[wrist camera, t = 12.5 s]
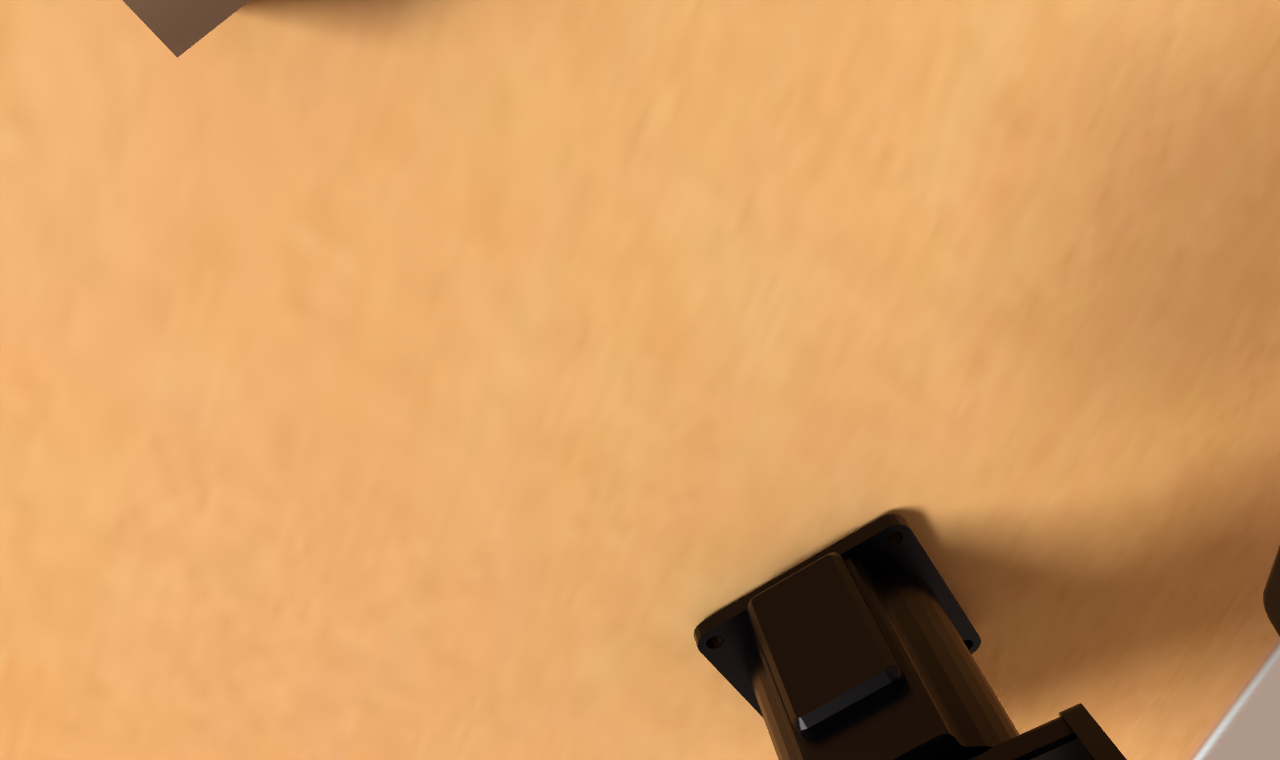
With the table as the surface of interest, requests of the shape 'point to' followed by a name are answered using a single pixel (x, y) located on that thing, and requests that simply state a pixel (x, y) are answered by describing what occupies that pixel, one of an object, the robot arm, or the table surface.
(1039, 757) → the robot arm
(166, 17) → the walnut block
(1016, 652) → the table surface
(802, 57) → the table surface
